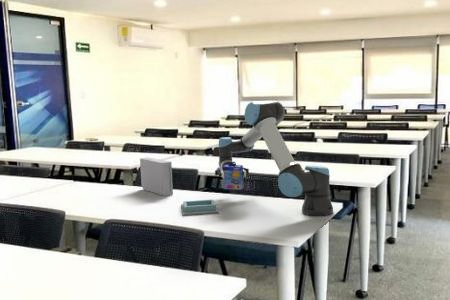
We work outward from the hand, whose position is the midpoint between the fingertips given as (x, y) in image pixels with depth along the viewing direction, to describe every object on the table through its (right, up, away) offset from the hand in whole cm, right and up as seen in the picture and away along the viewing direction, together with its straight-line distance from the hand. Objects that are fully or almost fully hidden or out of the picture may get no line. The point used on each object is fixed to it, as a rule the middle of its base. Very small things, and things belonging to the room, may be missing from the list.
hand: (234, 174), depth 253 cm
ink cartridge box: (0, -8, +5) cm, 9 cm away
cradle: (-18, -18, +4) cm, 26 cm away
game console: (-46, -13, +49) cm, 69 cm away
